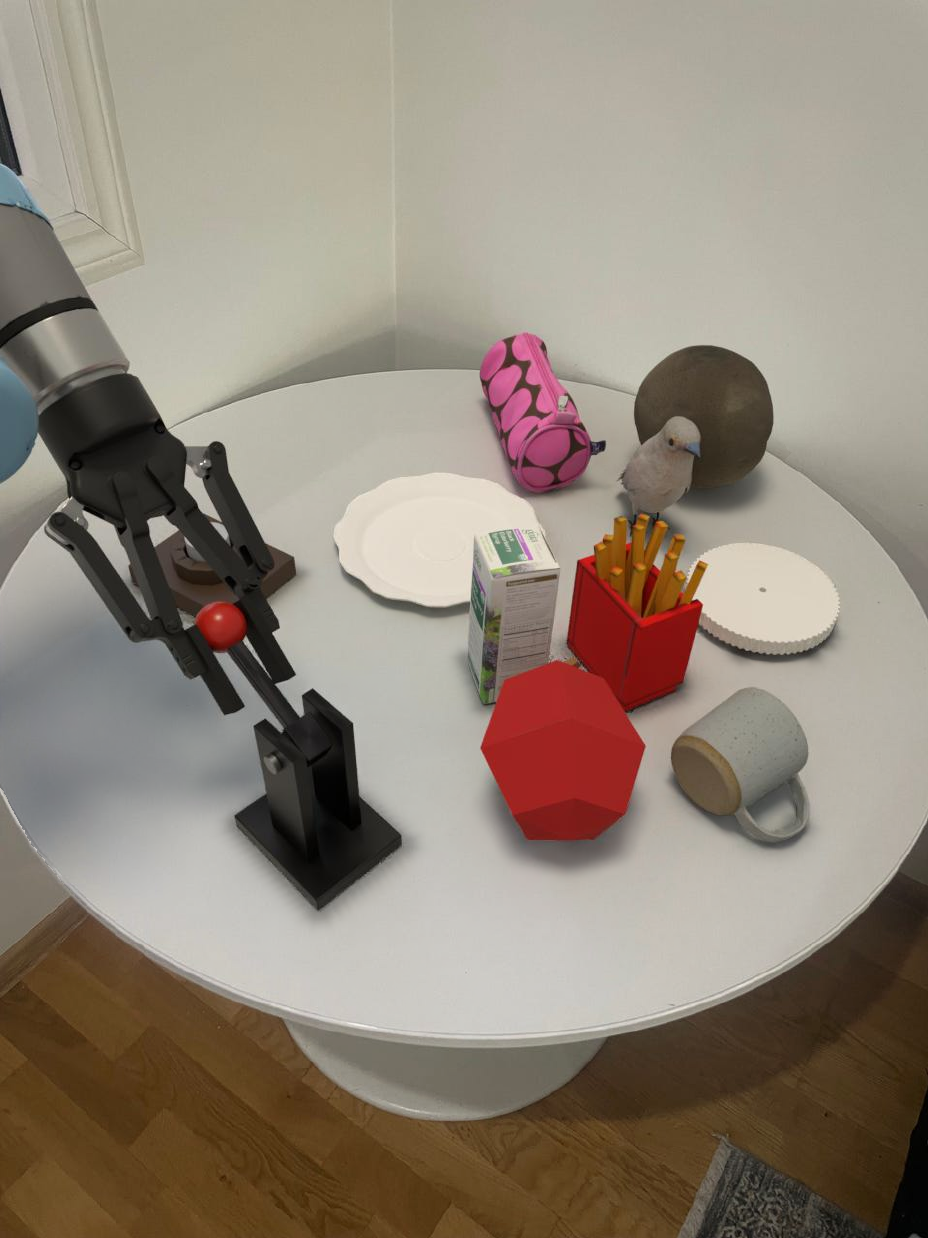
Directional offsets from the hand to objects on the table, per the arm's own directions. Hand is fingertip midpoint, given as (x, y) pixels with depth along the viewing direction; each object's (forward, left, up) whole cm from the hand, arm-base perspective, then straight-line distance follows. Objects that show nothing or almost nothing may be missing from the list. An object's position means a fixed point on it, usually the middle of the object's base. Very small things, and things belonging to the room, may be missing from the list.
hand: (260, 694), depth 70 cm
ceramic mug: (+30, +21, -12) cm, 38 cm away
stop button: (-22, +16, -8) cm, 28 cm away
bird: (+9, +47, -12) cm, 49 cm away
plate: (-7, +32, -12) cm, 35 cm away
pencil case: (-9, +54, -12) cm, 56 cm away
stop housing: (-22, +16, -12) cm, 30 cm away
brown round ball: (+9, +58, -12) cm, 60 cm away
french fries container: (+16, +28, -12) cm, 34 cm away
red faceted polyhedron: (+18, +12, -12) cm, 25 cm away
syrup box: (+8, +21, -12) cm, 25 cm away
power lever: (0, 0, 0) cm, 0 cm away
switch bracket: (+5, -1, -12) cm, 13 cm away
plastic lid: (+23, +42, -12) cm, 49 cm away
